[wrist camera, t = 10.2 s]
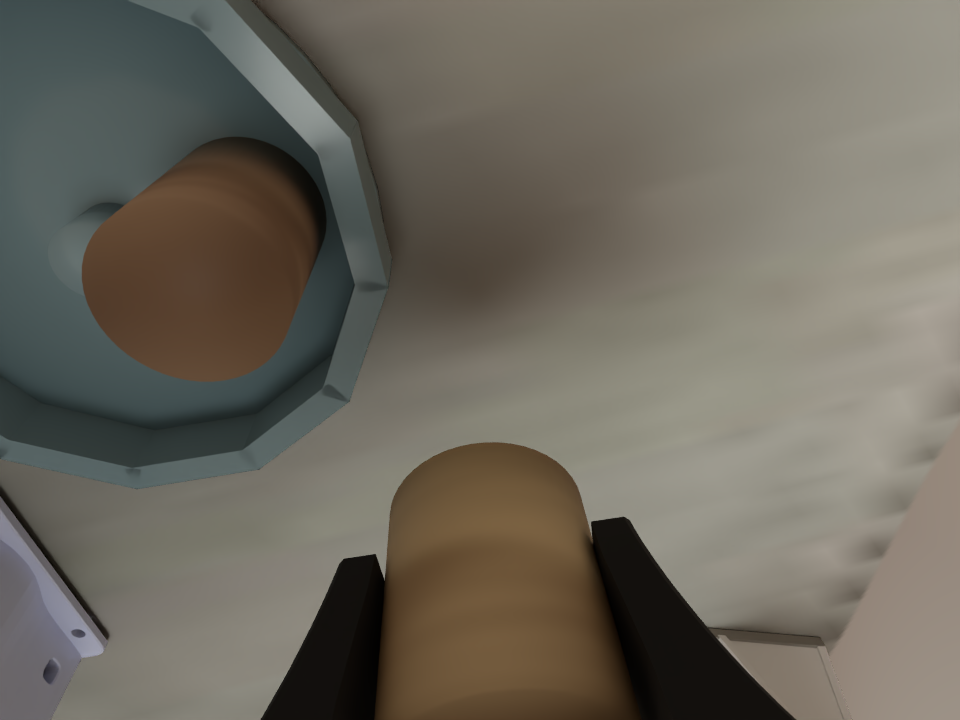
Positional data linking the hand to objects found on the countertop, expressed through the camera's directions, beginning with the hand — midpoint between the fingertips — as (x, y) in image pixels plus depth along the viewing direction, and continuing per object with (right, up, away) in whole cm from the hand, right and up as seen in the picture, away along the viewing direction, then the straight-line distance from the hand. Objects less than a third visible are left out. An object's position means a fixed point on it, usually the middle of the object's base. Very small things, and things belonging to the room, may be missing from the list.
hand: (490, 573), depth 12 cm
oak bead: (0, +1, +1) cm, 2 cm away
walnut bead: (-6, +8, +5) cm, 11 cm away
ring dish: (-10, +8, +6) cm, 14 cm away
